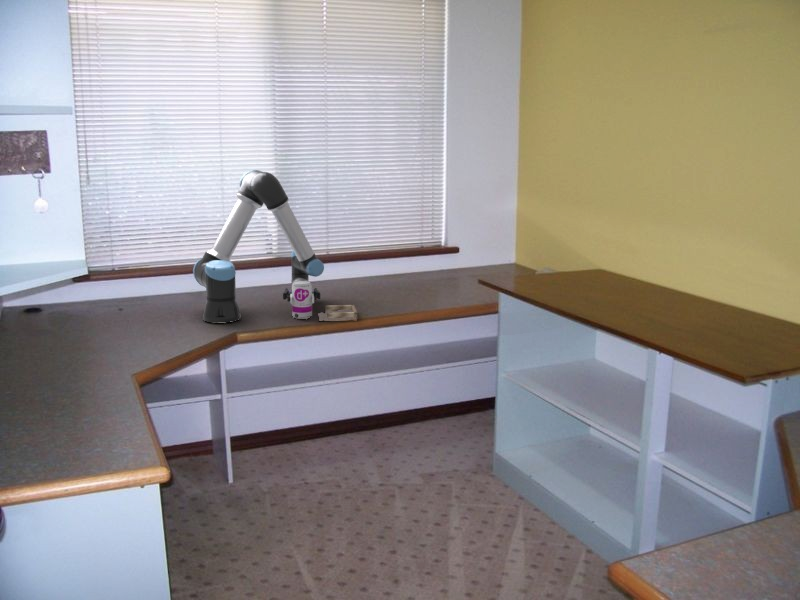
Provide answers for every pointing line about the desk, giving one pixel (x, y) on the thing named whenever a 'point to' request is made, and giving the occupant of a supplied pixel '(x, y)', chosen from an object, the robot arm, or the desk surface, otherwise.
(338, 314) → the dock
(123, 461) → the desk surface
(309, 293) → the supplement can
